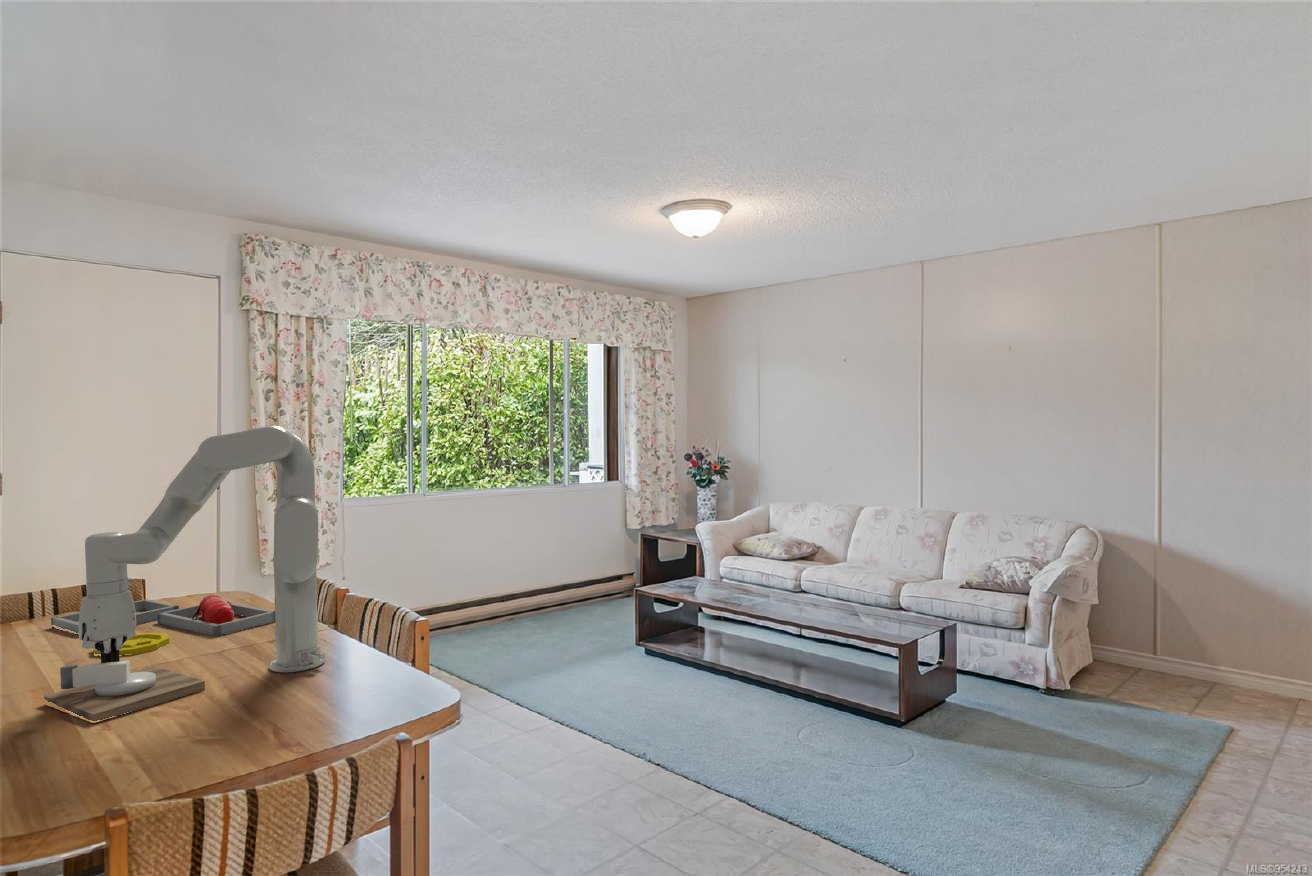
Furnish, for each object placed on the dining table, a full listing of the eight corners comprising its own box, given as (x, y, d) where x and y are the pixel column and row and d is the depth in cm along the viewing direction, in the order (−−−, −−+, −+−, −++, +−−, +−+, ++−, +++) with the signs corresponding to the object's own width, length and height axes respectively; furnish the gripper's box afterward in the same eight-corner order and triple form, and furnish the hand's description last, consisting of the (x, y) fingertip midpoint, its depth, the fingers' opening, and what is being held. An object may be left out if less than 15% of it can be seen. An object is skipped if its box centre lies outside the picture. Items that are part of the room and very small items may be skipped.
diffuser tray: (179, 615, 239) (178, 605, 239) (82, 636, 216) (81, 626, 216) (147, 608, 249) (146, 599, 249) (51, 627, 226) (51, 618, 226)
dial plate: (204, 689, 170) (204, 680, 170) (93, 724, 151) (93, 713, 151) (154, 674, 182) (153, 665, 181) (44, 705, 162) (43, 694, 162)
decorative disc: (103, 644, 209) (103, 637, 209) (176, 636, 215) (176, 630, 215) (81, 662, 193) (81, 654, 193) (161, 653, 200) (161, 646, 200)
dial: (162, 676, 173) (161, 651, 173) (146, 692, 163) (145, 666, 163) (72, 685, 168) (71, 660, 168) (49, 703, 158) (48, 675, 157)
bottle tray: (277, 621, 229) (277, 611, 229) (216, 636, 213) (216, 626, 213) (218, 609, 245) (218, 600, 245) (157, 623, 229) (157, 613, 229)
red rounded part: (188, 613, 214) (180, 598, 235) (194, 640, 215) (186, 622, 235) (235, 600, 221) (224, 586, 242) (241, 626, 222) (229, 610, 243)
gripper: (131, 580, 178) (134, 656, 178) (60, 594, 164) (63, 677, 164) (151, 582, 175) (154, 660, 175) (81, 596, 161) (84, 681, 161)
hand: (110, 668), depth 170 cm, fingers closed
